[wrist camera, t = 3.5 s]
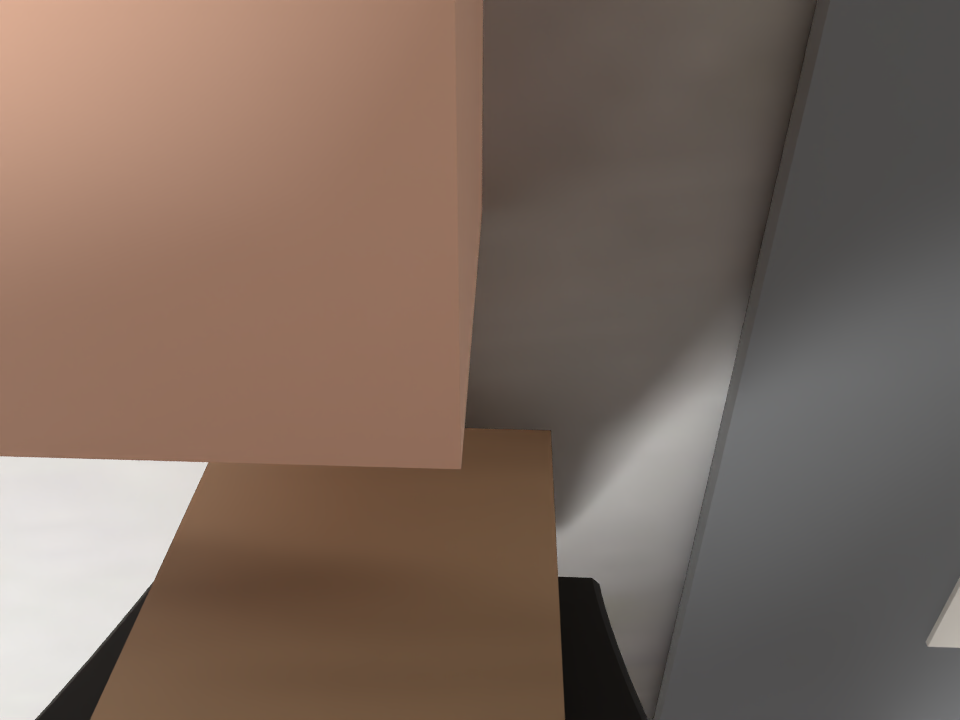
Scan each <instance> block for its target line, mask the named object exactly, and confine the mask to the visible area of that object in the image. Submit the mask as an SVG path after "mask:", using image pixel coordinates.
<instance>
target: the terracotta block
mask: <svg viewBox="0 0 960 720" xmlns="http://www.w3.org/2000/svg"><path fill="white" fill-rule="evenodd" d="M482 116H483V0H0V456H14V457H49V458H83V459H118V460H153V461H188V462H223V463H258V464H292V465H327V466H362V467H397V468H432V469H461V464H462V452H463V440H464V428H465V415H466V403H467V391H468V378H469V366H470V354H471V342H472V329H473V317H474V305H475V293H476V280H477V268H478V256H479V243H480V231H481V219H482Z"/></svg>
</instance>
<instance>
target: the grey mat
mask: <svg viewBox="0 0 960 720" xmlns="http://www.w3.org/2000/svg"><path fill="white" fill-rule="evenodd" d="M653 720H960V0H817V4H816V8H815V13H814V17H813V21H812V26H811V30H810V35H809V39H808V43H807V48H806V52H805V57H804V61H803V65H802V70H801V74H800V78H799V83H798V87H797V92H796V96H795V100H794V105H793V109H792V114H791V118H790V122H789V127H788V131H787V136H786V140H785V144H784V149H783V153H782V157H781V162H780V166H779V171H778V175H777V179H776V184H775V188H774V193H773V197H772V201H771V206H770V210H769V215H768V219H767V223H766V228H765V232H764V237H763V241H762V245H761V250H760V254H759V258H758V263H757V267H756V272H755V276H754V280H753V285H752V289H751V294H750V298H749V302H748V307H747V311H746V316H745V320H744V324H743V329H742V333H741V337H740V342H739V346H738V351H737V355H736V359H735V364H734V368H733V373H732V377H731V381H730V386H729V390H728V395H727V399H726V403H725V408H724V412H723V416H722V421H721V425H720V430H719V434H718V438H717V443H716V447H715V452H714V456H713V460H712V465H711V469H710V474H709V478H708V482H707V487H706V491H705V496H704V500H703V504H702V509H701V513H700V517H699V522H698V526H697V531H696V535H695V539H694V544H693V548H692V553H691V557H690V561H689V566H688V570H687V575H686V579H685V583H684V588H683V592H682V596H681V601H680V605H679V610H678V614H677V618H676V623H675V627H674V632H673V636H672V640H671V645H670V649H669V654H668V658H667V662H666V667H665V671H664V676H663V680H662V684H661V689H660V693H659V697H658V702H657V706H656V711H655V715H654V719H653Z"/></svg>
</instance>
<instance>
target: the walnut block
mask: <svg viewBox="0 0 960 720" xmlns="http://www.w3.org/2000/svg"><path fill="white" fill-rule="evenodd" d="M90 720H565V711H564V691H563V670H562V650H561V629H560V609H559V589H558V568H557V548H556V527H555V507H554V486H553V466H552V446H551V430H517V429H481V428H464V440H463V452H462V464H461V469H432V468H397V467H362V466H327V465H292V464H258V463H223V462H209V463H208V465H207V467H206V469H205V471H204V473H203V476H202V478H201V480H200V482H199V484H198V486H197V489H196V491H195V493H194V495H193V497H192V500H191V502H190V504H189V506H188V508H187V510H186V513H185V515H184V517H183V519H182V521H181V523H180V526H179V528H178V530H177V532H176V534H175V536H174V539H173V541H172V543H171V545H170V547H169V549H168V552H167V554H166V556H165V558H164V560H163V563H162V565H161V567H160V569H159V571H158V573H157V576H156V578H155V580H154V582H153V584H152V586H151V589H150V591H149V593H148V595H147V597H146V599H145V602H144V604H143V606H142V608H141V610H140V612H139V615H138V617H137V619H136V621H135V623H134V626H133V628H132V630H131V632H130V634H129V636H128V639H127V641H126V643H125V645H124V647H123V649H122V652H121V654H120V656H119V658H118V660H117V662H116V665H115V667H114V669H113V671H112V673H111V675H110V678H109V680H108V682H107V684H106V686H105V689H104V691H103V693H102V695H101V697H100V699H99V702H98V704H97V706H96V708H95V710H94V712H93V715H92V717H91V719H90Z"/></svg>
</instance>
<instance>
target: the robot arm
mask: <svg viewBox="0 0 960 720" xmlns="http://www.w3.org/2000/svg"><path fill="white" fill-rule="evenodd" d="M152 584H153V583H152ZM152 584H151V585H150V587H149V588H148V589H147V590H146V591H145V593H144V594H143V595H142V596H141V598H140V599H139V600H138V601H137V602H136V604H135V605H134V606H133V607H132V609H131V610H130V611H129V612H128V613H127V615H126V616H125V617H124V618H123V619H122V621H121V622H120V623H119V624H118V625H117V627H116V628H115V629H114V630H113V631H112V633H111V634H110V635H109V636H108V637H107V638H106V640H105V641H104V642H103V643H102V644H101V646H100V647H99V648H98V649H97V650H96V651H95V653H94V654H93V655H92V656H91V657H90V658H89V660H88V661H87V662H86V663H85V664H84V665H83V666H82V668H81V669H80V670H79V671H78V672H77V673H76V674H75V675H74V677H73V678H72V679H71V680H70V681H69V682H68V683H67V685H66V686H65V687H64V688H63V689H62V690H61V691H60V692H59V694H58V695H57V696H56V697H55V698H54V699H53V700H52V702H51V703H50V704H49V705H48V706H47V707H46V708H45V709H44V710H43V712H42V713H41V714H40V715H39V716H38V717H37V718H36V719H35V720H90V719H91V717H92V715H93V712H94V710H95V708H96V706H97V704H98V702H99V699H100V697H101V695H102V693H103V691H104V689H105V686H106V684H107V682H108V680H109V678H110V675H111V673H112V671H113V669H114V667H115V665H116V662H117V660H118V658H119V656H120V654H121V652H122V649H123V647H124V645H125V643H126V641H127V639H128V636H129V634H130V632H131V630H132V628H133V626H134V623H135V621H136V619H137V617H138V615H139V612H140V610H141V608H142V606H143V604H144V602H145V599H146V597H147V595H148V593H149V591H150V589H151V586H152ZM558 589H559V609H560V629H561V650H562V670H563V691H564V711H565V720H648V719H647V716H646V714H645V712H644V710H643V707H642V705H641V703H640V701H639V698H638V696H637V694H636V691H635V689H634V686H633V684H632V682H631V679H630V677H629V674H628V671H627V669H626V666H625V664H624V661H623V658H622V656H621V653H620V650H619V648H618V645H617V642H616V639H615V636H614V634H613V631H612V628H611V625H610V621H609V618H608V615H607V612H606V608H605V605H604V601H603V598H602V594H601V589H600V585H599V583H597V582H596V581H595V580H594V579H593V578H578V577H558Z"/></svg>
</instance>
